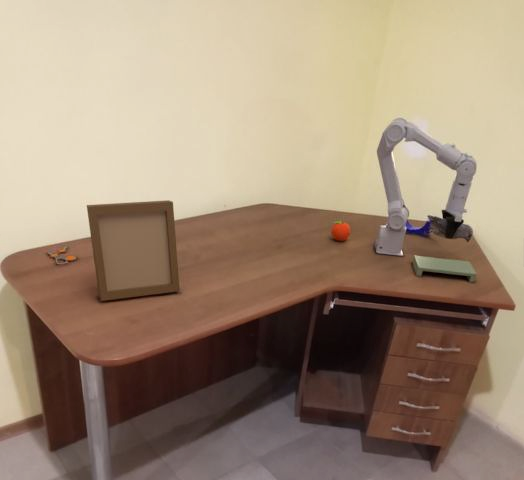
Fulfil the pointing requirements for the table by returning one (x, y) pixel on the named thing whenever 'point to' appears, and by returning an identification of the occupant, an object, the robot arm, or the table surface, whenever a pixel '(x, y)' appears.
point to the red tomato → (340, 231)
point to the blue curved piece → (418, 229)
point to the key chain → (62, 257)
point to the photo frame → (134, 248)
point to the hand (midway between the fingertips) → (446, 234)
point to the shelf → (443, 266)
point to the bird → (441, 224)
